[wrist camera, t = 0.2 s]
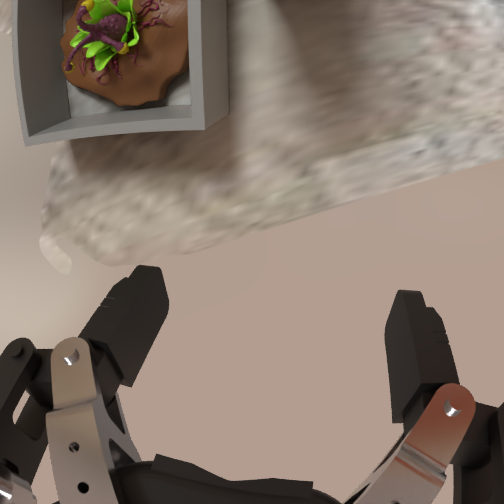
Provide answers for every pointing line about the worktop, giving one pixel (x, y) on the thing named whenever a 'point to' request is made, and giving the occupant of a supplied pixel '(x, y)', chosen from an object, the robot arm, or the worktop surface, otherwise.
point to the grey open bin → (120, 122)
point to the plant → (126, 48)
